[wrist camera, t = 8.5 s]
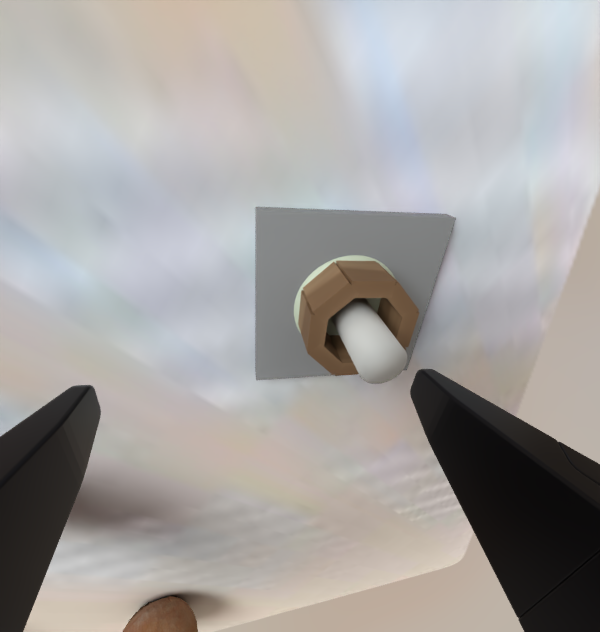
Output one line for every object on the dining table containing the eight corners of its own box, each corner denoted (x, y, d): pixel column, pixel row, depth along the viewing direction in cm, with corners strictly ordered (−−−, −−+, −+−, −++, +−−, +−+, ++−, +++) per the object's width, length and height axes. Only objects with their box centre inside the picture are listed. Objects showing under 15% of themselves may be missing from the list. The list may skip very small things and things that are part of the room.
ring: (382, 344, 23) (400, 371, 20) (295, 348, 22) (303, 377, 19) (404, 261, 20) (429, 281, 17) (304, 259, 18) (315, 281, 16)
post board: (401, 362, 26) (450, 431, 20) (255, 371, 24) (262, 452, 18) (446, 214, 20) (536, 251, 14) (255, 206, 17) (266, 248, 12)
